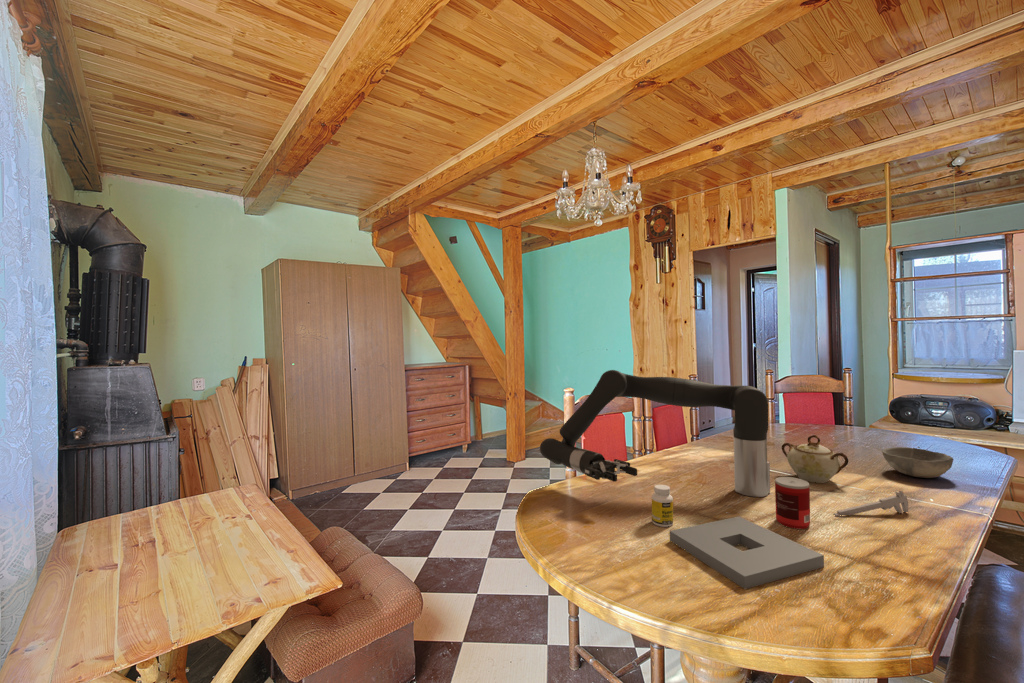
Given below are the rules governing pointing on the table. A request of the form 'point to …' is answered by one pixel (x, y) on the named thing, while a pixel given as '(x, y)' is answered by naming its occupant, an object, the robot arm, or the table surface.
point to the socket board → (750, 567)
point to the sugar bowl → (814, 461)
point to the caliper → (879, 505)
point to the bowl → (918, 461)
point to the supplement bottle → (662, 506)
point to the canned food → (792, 502)
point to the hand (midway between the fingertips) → (626, 475)
